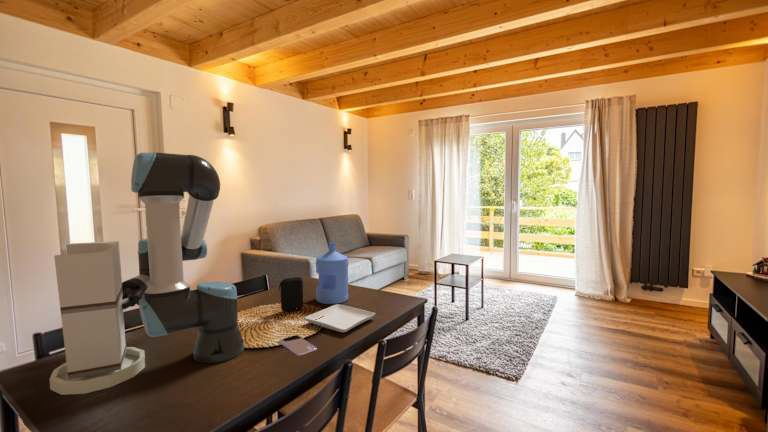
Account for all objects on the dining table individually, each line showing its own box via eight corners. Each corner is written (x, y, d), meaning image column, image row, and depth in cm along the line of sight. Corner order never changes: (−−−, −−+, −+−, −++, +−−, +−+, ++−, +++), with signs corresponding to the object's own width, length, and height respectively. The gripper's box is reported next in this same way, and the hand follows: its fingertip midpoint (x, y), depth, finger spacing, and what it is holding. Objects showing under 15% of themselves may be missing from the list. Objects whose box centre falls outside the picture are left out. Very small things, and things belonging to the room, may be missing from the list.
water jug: (337, 293, 182) (336, 239, 180) (354, 300, 170) (354, 243, 168) (310, 299, 172) (309, 242, 170) (326, 307, 160) (326, 246, 158)
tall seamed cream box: (126, 348, 109) (118, 241, 101) (120, 369, 100) (111, 253, 92) (79, 356, 103) (67, 243, 96) (68, 379, 94) (54, 256, 87)
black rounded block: (279, 313, 152) (278, 280, 151) (278, 311, 155) (277, 278, 154) (303, 309, 157) (303, 277, 156) (302, 307, 160) (301, 276, 158)
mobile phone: (296, 333, 129) (318, 347, 118) (296, 336, 129) (318, 350, 118) (277, 339, 124) (298, 354, 113) (277, 342, 124) (298, 357, 113)
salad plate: (376, 320, 146) (376, 312, 146) (344, 338, 128) (344, 328, 128) (337, 310, 157) (337, 303, 157) (302, 325, 139) (302, 317, 139)
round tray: (160, 364, 107) (160, 355, 107) (77, 402, 88) (76, 391, 88) (119, 351, 116) (119, 342, 116) (36, 382, 97) (35, 372, 97)
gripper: (173, 298, 120) (135, 322, 99) (98, 300, 118) (41, 325, 96) (173, 277, 119) (133, 296, 98) (96, 278, 117) (39, 298, 96)
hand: (88, 310), depth 97 cm, fingers closed on tall seamed cream box, 12 cm apart
